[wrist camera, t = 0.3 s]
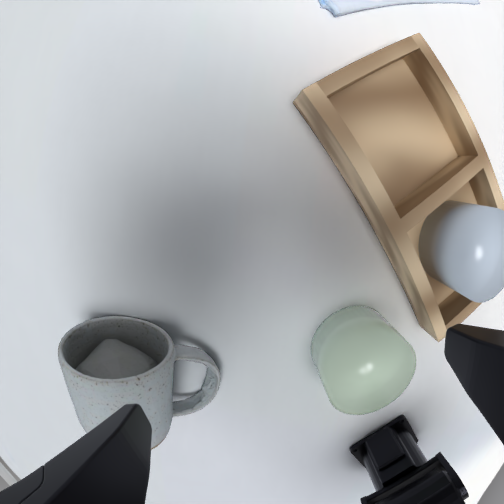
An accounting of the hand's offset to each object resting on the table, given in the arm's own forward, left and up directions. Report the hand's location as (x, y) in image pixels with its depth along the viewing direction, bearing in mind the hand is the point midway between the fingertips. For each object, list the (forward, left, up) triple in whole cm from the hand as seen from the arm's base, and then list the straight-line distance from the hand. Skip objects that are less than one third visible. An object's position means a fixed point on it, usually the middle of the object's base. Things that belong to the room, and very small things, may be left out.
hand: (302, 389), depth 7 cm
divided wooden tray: (-3, -13, -13) cm, 19 cm away
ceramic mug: (-2, +11, -14) cm, 18 cm away
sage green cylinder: (-10, -2, -14) cm, 17 cm away
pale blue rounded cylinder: (-7, -13, -13) cm, 20 cm away
